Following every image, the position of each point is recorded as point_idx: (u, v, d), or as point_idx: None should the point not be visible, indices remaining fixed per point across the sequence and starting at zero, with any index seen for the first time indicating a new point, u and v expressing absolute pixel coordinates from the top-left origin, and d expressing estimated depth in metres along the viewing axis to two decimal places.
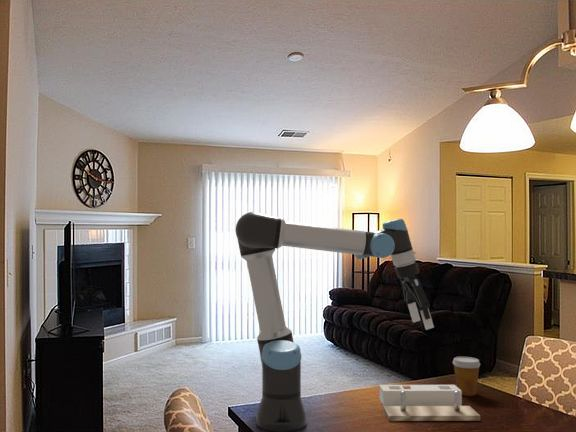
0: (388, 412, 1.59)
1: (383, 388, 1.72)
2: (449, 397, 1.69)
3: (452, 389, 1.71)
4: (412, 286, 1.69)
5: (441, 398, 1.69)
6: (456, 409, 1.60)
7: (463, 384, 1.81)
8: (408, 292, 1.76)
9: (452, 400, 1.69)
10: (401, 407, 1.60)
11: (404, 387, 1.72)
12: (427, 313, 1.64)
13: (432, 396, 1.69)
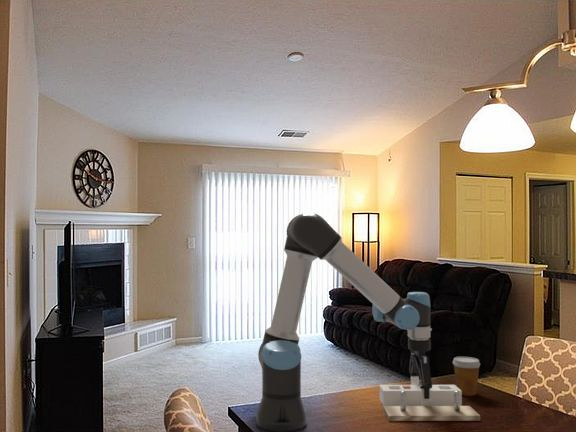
0: (388, 412, 1.59)
1: (383, 388, 1.72)
2: (449, 397, 1.69)
3: (452, 389, 1.71)
4: (420, 362, 1.70)
5: (441, 398, 1.69)
6: (456, 409, 1.60)
7: (463, 384, 1.81)
8: (414, 365, 1.77)
9: (452, 400, 1.69)
10: (401, 407, 1.60)
11: (404, 387, 1.72)
12: (427, 393, 1.65)
13: (432, 396, 1.69)
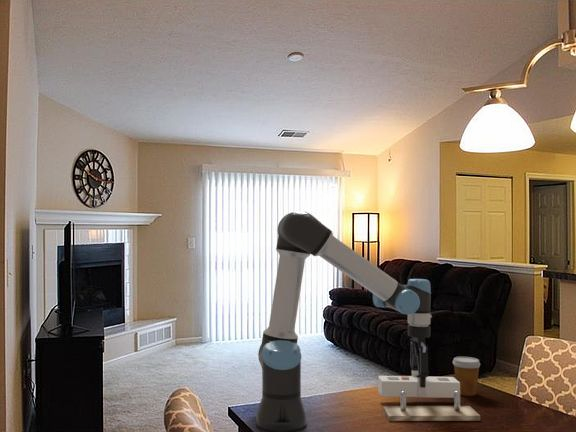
0: (388, 412, 1.59)
1: (382, 379, 1.72)
2: (447, 389, 1.69)
3: (451, 381, 1.71)
4: (419, 348, 1.70)
5: (439, 389, 1.69)
6: (456, 409, 1.60)
7: (463, 384, 1.81)
8: (414, 355, 1.76)
9: (450, 392, 1.69)
10: (401, 407, 1.60)
11: (403, 378, 1.72)
12: (423, 382, 1.68)
13: (430, 387, 1.69)
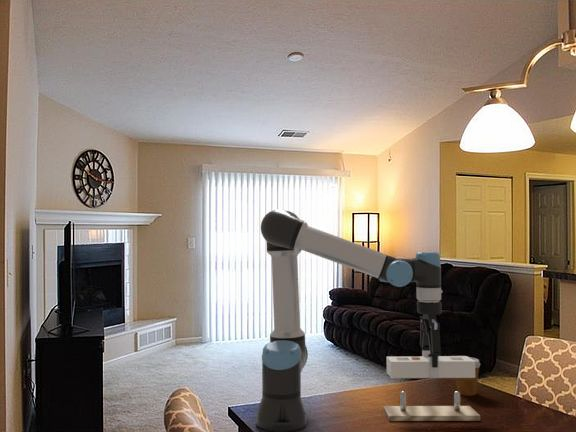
0: (388, 412, 1.59)
1: (390, 359, 1.60)
2: (462, 368, 1.57)
3: (465, 360, 1.59)
4: (430, 325, 1.58)
5: (453, 369, 1.57)
6: (456, 409, 1.60)
7: (463, 384, 1.81)
8: (425, 333, 1.63)
9: (465, 371, 1.57)
10: (401, 407, 1.60)
11: (413, 358, 1.60)
12: (436, 361, 1.56)
13: (443, 367, 1.57)
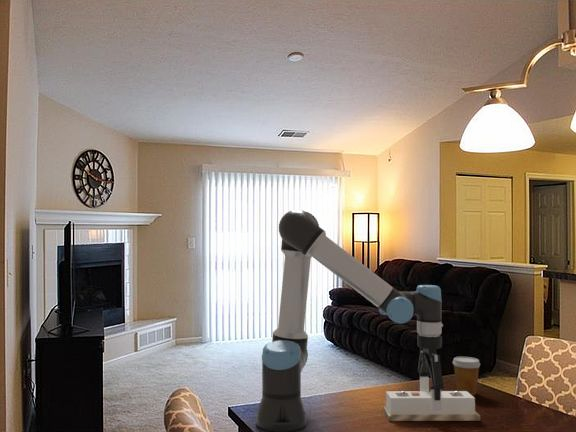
0: (388, 412, 1.59)
1: (390, 395, 1.60)
2: (461, 405, 1.57)
3: (464, 396, 1.59)
4: (430, 360, 1.58)
5: (453, 406, 1.57)
6: None
7: (463, 384, 1.81)
8: (424, 364, 1.64)
9: (465, 408, 1.57)
10: None
11: (413, 394, 1.60)
12: (438, 394, 1.52)
13: (443, 404, 1.57)
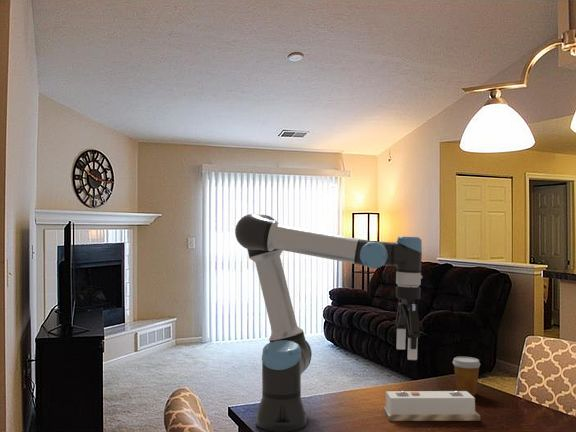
0: (388, 412, 1.59)
1: (390, 395, 1.60)
2: (461, 405, 1.57)
3: (464, 396, 1.59)
4: (408, 310, 1.56)
5: (453, 406, 1.57)
6: None
7: (463, 384, 1.81)
8: (402, 316, 1.63)
9: (465, 408, 1.57)
10: None
11: (413, 394, 1.60)
12: (414, 343, 1.51)
13: (443, 404, 1.57)
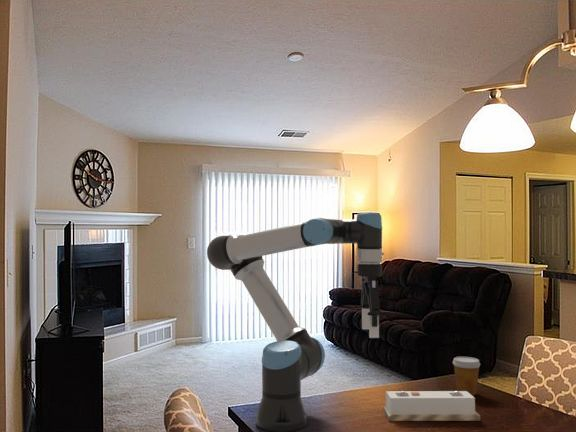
0: (388, 412, 1.59)
1: (390, 395, 1.60)
2: (461, 405, 1.57)
3: (464, 396, 1.59)
4: (369, 288, 1.52)
5: (453, 406, 1.57)
6: None
7: (463, 384, 1.81)
8: (365, 295, 1.59)
9: (465, 408, 1.57)
10: None
11: (413, 394, 1.60)
12: (375, 320, 1.47)
13: (443, 404, 1.57)
